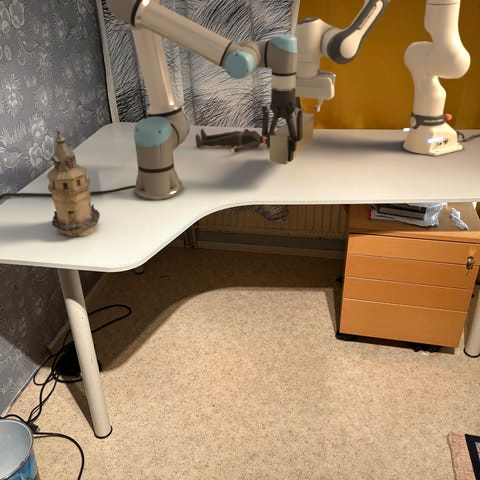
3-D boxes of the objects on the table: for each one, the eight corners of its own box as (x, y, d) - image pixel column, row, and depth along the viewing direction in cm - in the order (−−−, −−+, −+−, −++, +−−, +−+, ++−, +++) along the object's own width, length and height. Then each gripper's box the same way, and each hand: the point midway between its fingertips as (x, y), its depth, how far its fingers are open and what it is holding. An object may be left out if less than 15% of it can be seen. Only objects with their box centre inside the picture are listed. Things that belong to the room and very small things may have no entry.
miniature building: (80, 214, 164) (63, 117, 149) (111, 225, 157) (96, 125, 142) (44, 231, 154) (22, 130, 140) (75, 244, 147) (55, 139, 133)
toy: (206, 122, 226) (276, 122, 220) (207, 136, 229) (277, 136, 223) (189, 142, 204) (266, 142, 198) (190, 157, 207) (267, 158, 201)
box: (286, 164, 173) (287, 137, 169) (269, 162, 176) (270, 134, 171) (312, 139, 195) (314, 114, 190) (297, 137, 197) (298, 112, 193)
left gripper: (316, 88, 165) (312, 159, 176) (259, 82, 172) (259, 151, 183) (308, 93, 159) (305, 167, 170) (250, 88, 166) (250, 158, 177)
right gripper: (338, 69, 180) (335, 110, 187) (281, 65, 187) (280, 104, 194) (333, 73, 175) (330, 115, 182) (274, 68, 182) (274, 108, 189)
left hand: (281, 158), depth 177 cm, fingers closed on box, 6 cm apart
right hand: (304, 109), depth 188 cm, fingers open, 8 cm apart
